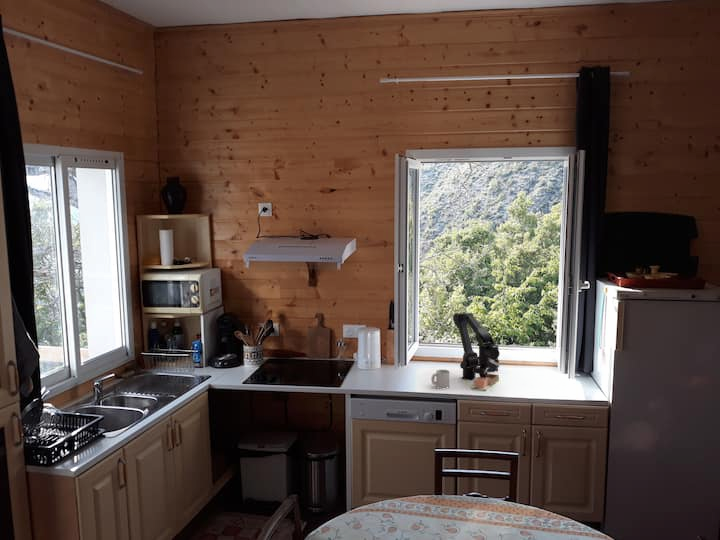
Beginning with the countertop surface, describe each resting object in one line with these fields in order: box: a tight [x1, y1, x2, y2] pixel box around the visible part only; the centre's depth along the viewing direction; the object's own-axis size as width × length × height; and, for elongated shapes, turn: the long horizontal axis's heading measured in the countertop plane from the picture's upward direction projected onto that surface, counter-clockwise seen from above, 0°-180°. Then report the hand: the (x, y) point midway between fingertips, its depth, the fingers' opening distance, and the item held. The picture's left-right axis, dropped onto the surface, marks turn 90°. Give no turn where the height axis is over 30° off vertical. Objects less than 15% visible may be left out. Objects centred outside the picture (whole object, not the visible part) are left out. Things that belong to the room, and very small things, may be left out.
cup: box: [431, 369, 450, 389], centre depth 336 cm, size 7×10×9 cm
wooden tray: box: [470, 372, 500, 392], centre depth 341 cm, size 9×23×3 cm, turn 149°
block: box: [473, 376, 488, 388], centre depth 335 cm, size 6×6×4 cm
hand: (483, 382), depth 339 cm, fingers closed
